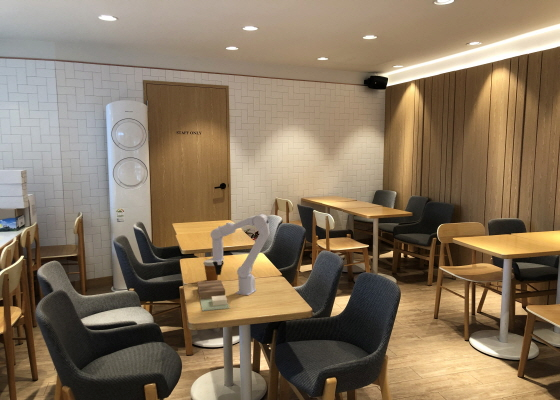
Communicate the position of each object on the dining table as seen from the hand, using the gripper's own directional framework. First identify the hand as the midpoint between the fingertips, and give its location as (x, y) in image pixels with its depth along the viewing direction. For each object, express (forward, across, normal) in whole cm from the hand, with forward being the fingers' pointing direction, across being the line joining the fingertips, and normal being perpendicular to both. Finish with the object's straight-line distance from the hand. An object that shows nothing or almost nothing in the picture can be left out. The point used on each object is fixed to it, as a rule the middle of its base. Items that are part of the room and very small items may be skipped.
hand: (218, 274), depth 234 cm
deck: (+9, +2, -4) cm, 11 cm away
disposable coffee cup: (+10, -22, -2) cm, 24 cm away
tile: (+8, +19, -2) cm, 21 cm away
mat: (+9, +20, -4) cm, 22 cm away
